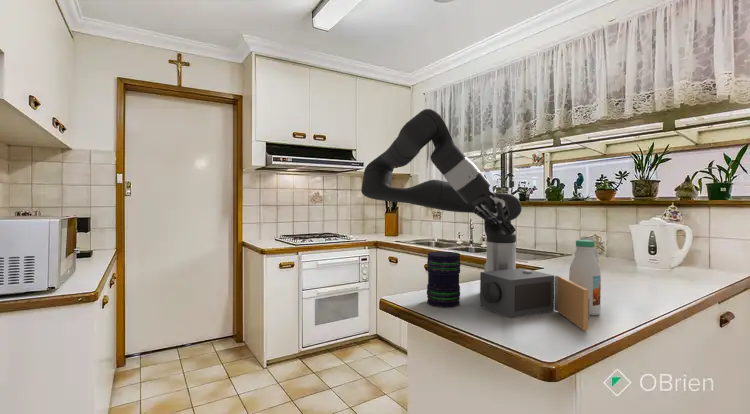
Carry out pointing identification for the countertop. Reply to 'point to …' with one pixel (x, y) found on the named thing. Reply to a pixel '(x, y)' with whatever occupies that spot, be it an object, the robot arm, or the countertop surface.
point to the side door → (572, 301)
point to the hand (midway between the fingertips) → (511, 232)
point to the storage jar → (443, 279)
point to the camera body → (517, 292)
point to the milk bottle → (587, 273)
